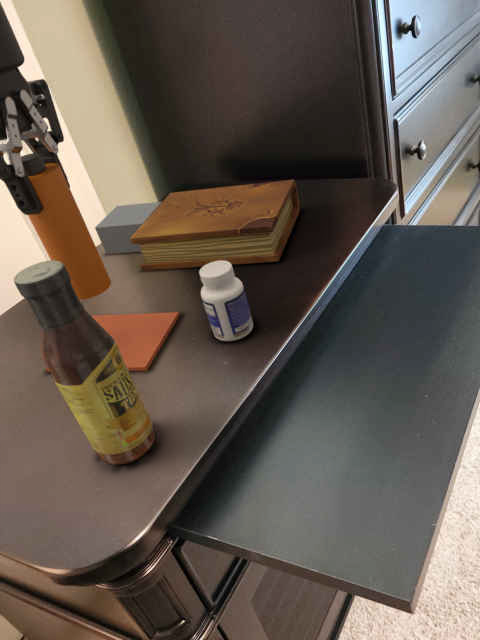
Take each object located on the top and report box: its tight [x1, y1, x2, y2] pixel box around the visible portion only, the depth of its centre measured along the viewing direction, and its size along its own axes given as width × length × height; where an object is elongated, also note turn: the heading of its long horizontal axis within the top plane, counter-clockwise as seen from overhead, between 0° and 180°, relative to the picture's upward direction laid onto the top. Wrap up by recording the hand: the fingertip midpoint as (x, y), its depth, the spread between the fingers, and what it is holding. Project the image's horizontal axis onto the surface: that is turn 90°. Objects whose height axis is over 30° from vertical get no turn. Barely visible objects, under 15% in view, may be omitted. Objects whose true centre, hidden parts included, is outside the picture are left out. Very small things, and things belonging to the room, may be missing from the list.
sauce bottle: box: [13, 259, 156, 466], centre depth 48 cm, size 7×6×20 cm
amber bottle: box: [21, 152, 112, 301], centre depth 59 cm, size 5×5×16 cm
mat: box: [45, 311, 180, 373], centre depth 69 cm, size 14×12×1 cm
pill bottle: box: [198, 261, 254, 342], centre depth 64 cm, size 5×5×9 cm
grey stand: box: [94, 201, 163, 255], centre depth 92 cm, size 9×9×5 cm
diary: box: [130, 179, 301, 272], centre depth 87 cm, size 23×19×6 cm
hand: (47, 201), depth 57 cm, fingers closed on amber bottle, 5 cm apart
